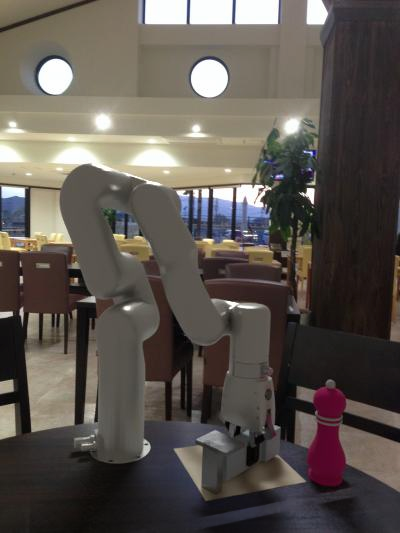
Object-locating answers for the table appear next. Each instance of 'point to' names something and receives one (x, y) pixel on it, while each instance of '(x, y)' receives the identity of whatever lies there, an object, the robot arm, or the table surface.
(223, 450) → the block
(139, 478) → the table surface
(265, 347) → the robot arm
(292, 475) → the base board
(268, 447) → the link
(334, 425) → the pepper mill
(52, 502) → the table surface
